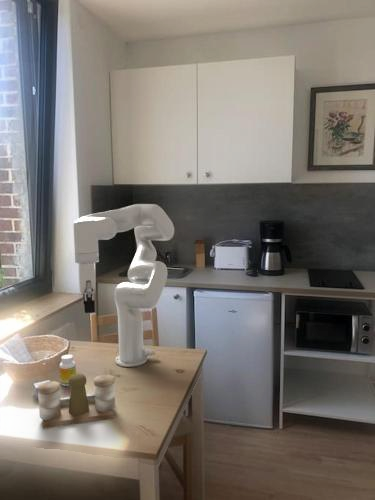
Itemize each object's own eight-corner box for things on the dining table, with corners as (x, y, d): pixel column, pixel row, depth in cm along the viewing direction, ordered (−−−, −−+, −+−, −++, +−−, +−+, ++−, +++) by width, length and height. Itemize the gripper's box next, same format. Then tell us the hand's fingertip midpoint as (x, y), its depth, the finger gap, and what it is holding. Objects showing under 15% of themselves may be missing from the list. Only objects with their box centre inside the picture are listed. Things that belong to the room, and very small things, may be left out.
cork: (77, 403, 133) (75, 369, 131) (93, 407, 131) (91, 373, 129) (64, 412, 128) (62, 377, 126) (80, 417, 125) (78, 381, 124)
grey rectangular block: (49, 391, 145) (49, 380, 144) (52, 396, 141) (51, 384, 141) (34, 394, 142) (33, 383, 142) (36, 399, 139) (36, 388, 138)
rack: (113, 401, 137) (112, 370, 135) (117, 417, 127) (116, 384, 126) (40, 411, 131) (38, 379, 130) (38, 429, 122) (36, 394, 120)
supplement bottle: (72, 387, 147) (70, 360, 146) (57, 385, 148) (56, 359, 147) (79, 380, 153) (77, 354, 151) (65, 378, 154) (63, 353, 152)
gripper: (74, 254, 147) (77, 302, 149) (75, 262, 130) (77, 316, 133) (97, 253, 149) (99, 300, 151) (100, 261, 132) (102, 314, 135)
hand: (89, 308), depth 142 cm, fingers open, 9 cm apart
